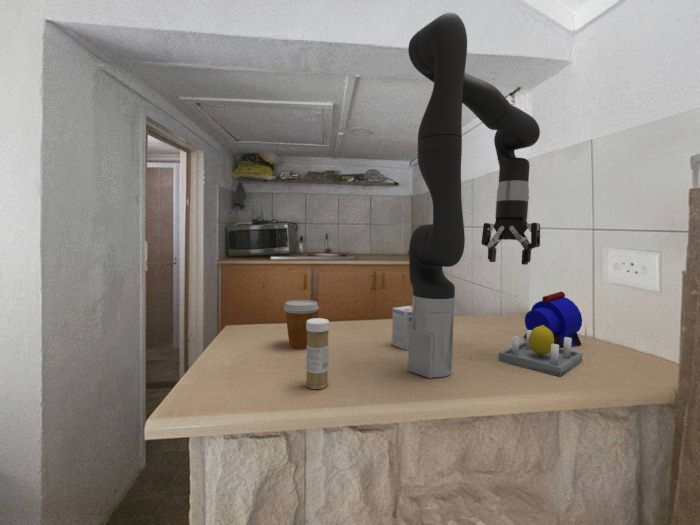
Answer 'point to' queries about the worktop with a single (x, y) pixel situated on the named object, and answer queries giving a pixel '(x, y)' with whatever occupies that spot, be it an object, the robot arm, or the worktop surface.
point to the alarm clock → (556, 318)
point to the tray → (542, 357)
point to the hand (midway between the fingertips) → (508, 263)
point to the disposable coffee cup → (299, 321)
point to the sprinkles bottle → (317, 353)
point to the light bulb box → (401, 326)
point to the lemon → (541, 340)
